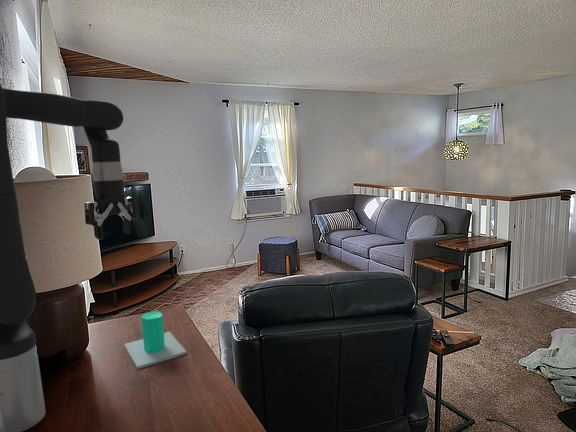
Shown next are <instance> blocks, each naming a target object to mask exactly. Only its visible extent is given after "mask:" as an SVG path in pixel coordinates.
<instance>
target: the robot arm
mask: <svg viewBox="0 0 576 432" xmlns="http://www.w3.org/2000/svg"><path fill="white" fill-rule="evenodd" d="M7 119H15V120H16V119H18V120H25V121H32V122H39V123H44V124H45V123H46V124H51V125H52V124H53V125H57V126H66V127H74V128H76V127H78V128H79V127H80V128H81V127H83V130H84V133H85V137H86V138H87V140H88V143H89V146H90V149H91V153H90V154H91V160H92V167H91V168H92V171H91V172H92V180H93V190H94V197H95V201H93V202H90V201H87V202H85V203H84V220H85V221H84V222H85V224H86V225H89V226H90V225H91V226H92V227H93V234H94V238H96V240H99V241H101V240H104V230H103V226H102V225H103V223H104V221H105V219H107V217H110V216H111V217H112V216H113V215H115V216H116V215H118V216H119V217H121V219H122V231H123V233H124V234H131V231H132V219H134V218H137V208H136V201H135V198H134V197H133V196H132V197H131V196H124V195H125V184H124V173H123V166H122V162H121V161H122V159H121V150H120V145H119V142H118V141H116V140H114V139H112V138H111V139H110V137H109V134H108V132H107V131H114V130H117V129H118V128H120V127H121V126H122V124H123V122H124V115H123V111H122V110H121V109H120V107H118V106H117V105H116V104H114V103H112V102H107V101H101V100H92V99H91V100H89V99H80V98H78V97H77V98H76V97H72V96H67V95H64V94H58V93H52V92H42V91H41V92H40V91H29V90H19V89H17V90H16V89H12V88H5V87H3V86H2V84H1V83H0V432H24V431H26V430H29V429H30V428H33V427H34V426H36V425H37V424H39V423H40V422H41V421H42V420H43V419H44V417H45V415H46V403H45V399H44V390H43V384H42V376H41V368H40V363H39V357H38V354H37V346H36V338H35V333H34V331H33V330H32V329H31V328H30V326H29V323H28V322H27V319H28V317H29V316H30V315H31V313H32V312H33V310H34V308H35V305H36V291H35V287H34V284H33V280H32V277H31V274H30V270H29V267H28V263H27V260H26V257H27V256H26V251H25V244H24V238H23V231H22V226H21V220H20V212H19V206H18V199H17V193H16V186H15V183H14V176H13V171H12V170H13V169H12V164H11V157H10V156H11V155H10V152H9V151H10V150H9V144H8V132H7V131H8V129H7V128H8V127H7V125H8V124H7ZM125 205H126V206H125ZM96 209H97V211H96V212H95V210H96Z"/></svg>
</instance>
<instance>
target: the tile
mask: <svg viewBox="0 0 576 432" xmlns="http://www.w3.org/2000/svg"><path fill="white" fill-rule="evenodd" d="M164 340H165V347H164V349H162V350H161V351H158V352H154V353H148V352H145V350H144V343H143V338H141V339H138V340H133V341H130V342H127V343H124V348H125V350H126V351H127V353H128V355H129V357H130V358H131V360H132V362H133V364H134V366H135V368H136V370H139V369H142V368H143V369H144V368H146V367H149V366H152V365H156V364H159V363H162V362H165V361H168V360H172V359H174V358H178V357H181V356H183V355H186V354H188V353H187V350H186V349H185V348H184V347H183V346H182V344H181V343H180V342H179V341H178V340H177V339H176V337H175V336H174V335H173V334H172V333H171V332H170V331H166V332H164Z"/></svg>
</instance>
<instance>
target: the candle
mask: <svg viewBox="0 0 576 432" xmlns="http://www.w3.org/2000/svg"><path fill="white" fill-rule="evenodd" d="M150 310H151V311H150V312H146V313H144V314H143V315H142V316H141V329H142V339H143V343H144V350H145V352H148V353H154V352H158V351H161V350H162V349H164V347H165V340H164V333H165V331H164V330H165V328H164V317H163V316H164V315H163V313H162V312H160V311H158V310H153V311H152V309H150Z"/></svg>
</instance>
